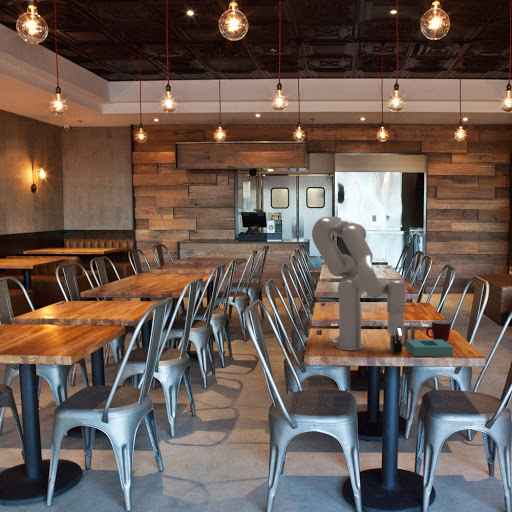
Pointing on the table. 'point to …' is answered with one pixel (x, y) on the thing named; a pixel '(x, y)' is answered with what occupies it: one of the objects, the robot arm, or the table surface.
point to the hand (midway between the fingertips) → (395, 349)
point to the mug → (440, 330)
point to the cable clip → (412, 331)
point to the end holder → (429, 347)
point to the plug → (392, 344)
